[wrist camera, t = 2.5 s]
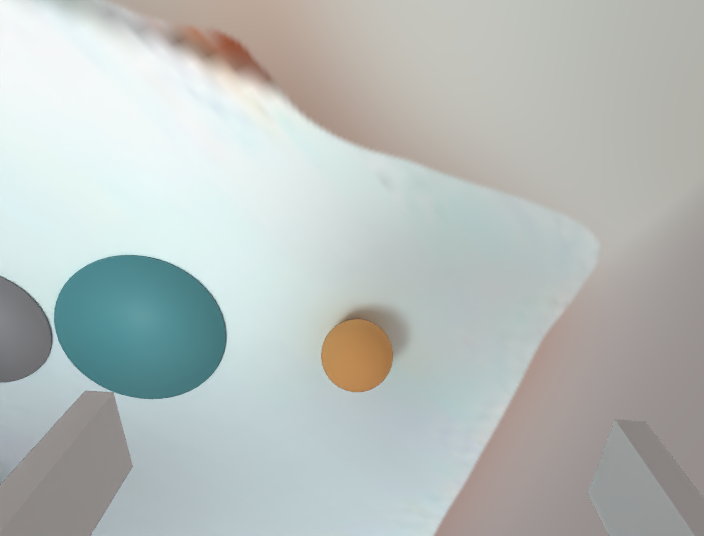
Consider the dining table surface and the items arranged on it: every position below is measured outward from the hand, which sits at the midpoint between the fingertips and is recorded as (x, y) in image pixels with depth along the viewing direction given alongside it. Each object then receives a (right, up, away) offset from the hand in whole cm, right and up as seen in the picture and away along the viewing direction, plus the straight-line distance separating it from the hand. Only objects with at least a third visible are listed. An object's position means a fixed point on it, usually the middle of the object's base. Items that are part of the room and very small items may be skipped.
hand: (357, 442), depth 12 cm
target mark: (-17, 0, +23) cm, 28 cm away
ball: (0, -2, +22) cm, 22 cm away
